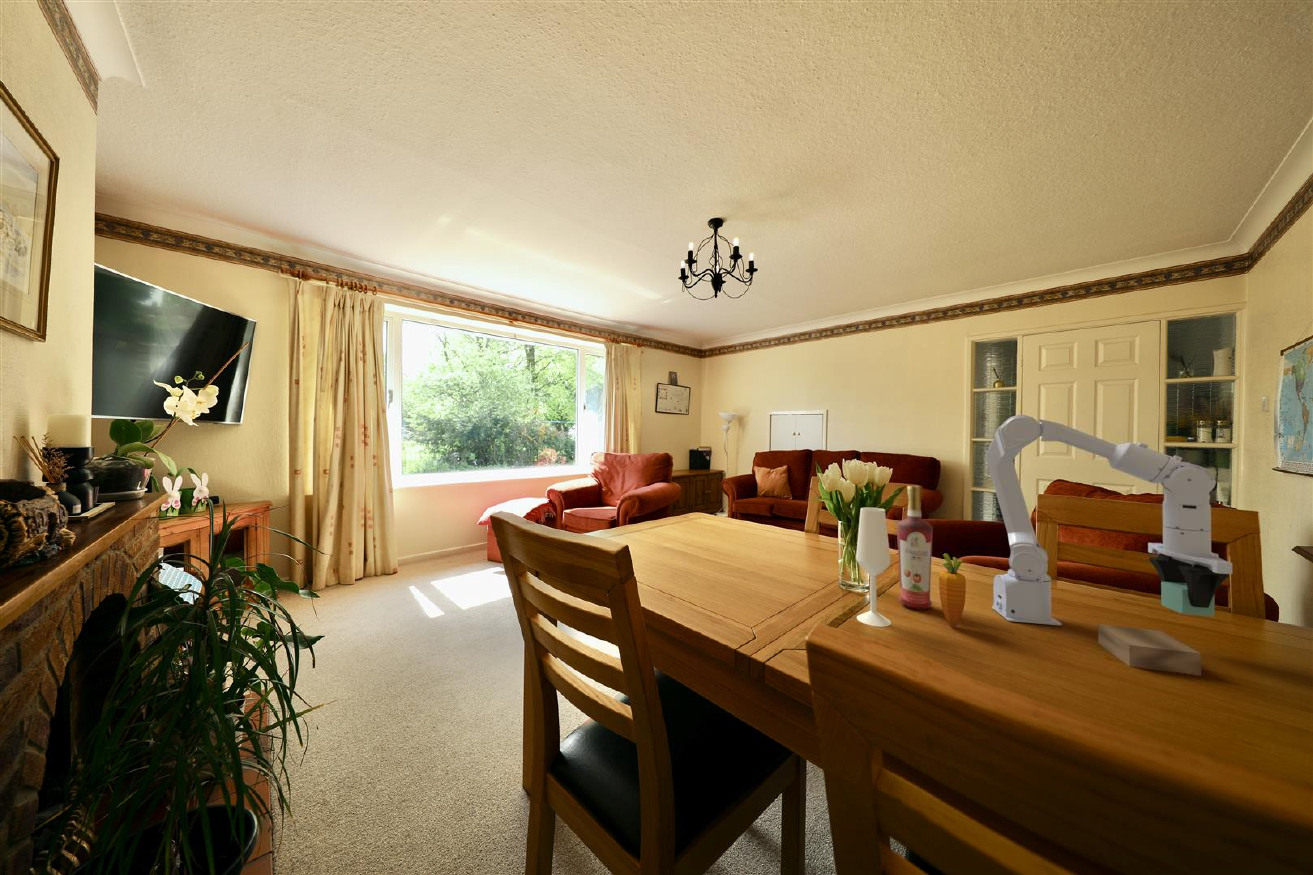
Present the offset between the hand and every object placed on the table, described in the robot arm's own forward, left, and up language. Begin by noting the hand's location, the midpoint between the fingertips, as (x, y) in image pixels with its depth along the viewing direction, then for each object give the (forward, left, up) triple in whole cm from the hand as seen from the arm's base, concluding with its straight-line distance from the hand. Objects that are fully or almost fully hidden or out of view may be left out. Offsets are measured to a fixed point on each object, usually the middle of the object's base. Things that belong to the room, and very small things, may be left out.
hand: (1187, 601), depth 81 cm
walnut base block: (-10, -6, -9) cm, 15 cm away
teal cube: (0, 0, -2) cm, 2 cm away
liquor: (-42, +11, -9) cm, 44 cm away
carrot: (-38, 0, -9) cm, 39 cm away
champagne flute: (-53, 0, -9) cm, 54 cm away
